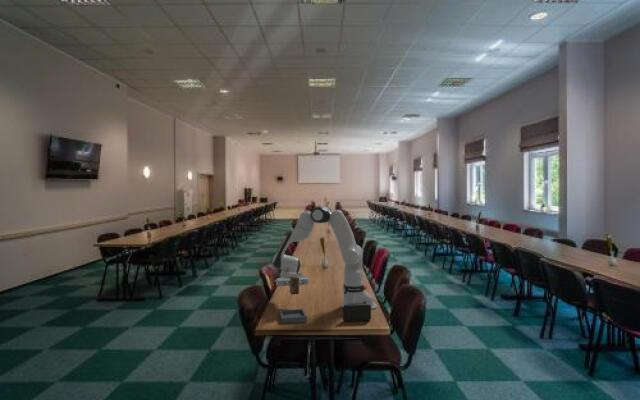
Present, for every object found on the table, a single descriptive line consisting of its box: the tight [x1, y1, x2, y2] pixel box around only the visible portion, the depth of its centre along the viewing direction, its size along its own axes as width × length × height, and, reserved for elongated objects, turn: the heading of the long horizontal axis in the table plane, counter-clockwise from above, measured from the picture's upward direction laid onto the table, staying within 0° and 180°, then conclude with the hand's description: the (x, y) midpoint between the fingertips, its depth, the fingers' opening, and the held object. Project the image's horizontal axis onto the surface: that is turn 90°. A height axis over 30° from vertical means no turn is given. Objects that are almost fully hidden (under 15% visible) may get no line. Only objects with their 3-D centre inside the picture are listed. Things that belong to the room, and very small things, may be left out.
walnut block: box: [289, 276, 300, 296], centre depth 222 cm, size 4×4×10 cm
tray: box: [279, 308, 308, 324], centre depth 210 cm, size 14×14×3 cm
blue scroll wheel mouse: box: [342, 303, 372, 322], centre depth 208 cm, size 16×5×9 cm, turn 97°
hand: (294, 284), depth 221 cm, fingers closed on walnut block, 4 cm apart
